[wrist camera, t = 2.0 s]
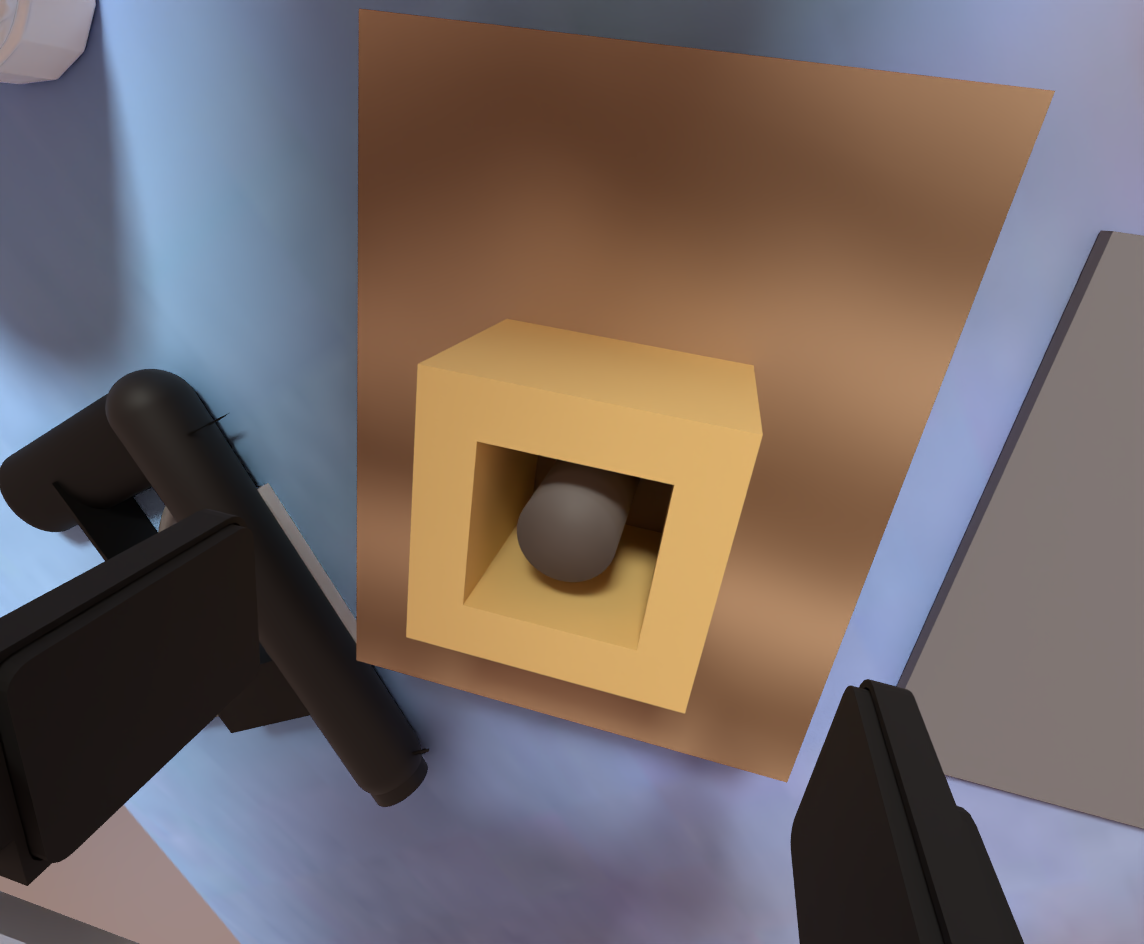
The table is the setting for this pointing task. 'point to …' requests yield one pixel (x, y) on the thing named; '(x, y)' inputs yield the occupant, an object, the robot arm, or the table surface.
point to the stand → (673, 316)
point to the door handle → (282, 557)
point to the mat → (1055, 574)
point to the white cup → (42, 38)
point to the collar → (593, 438)
